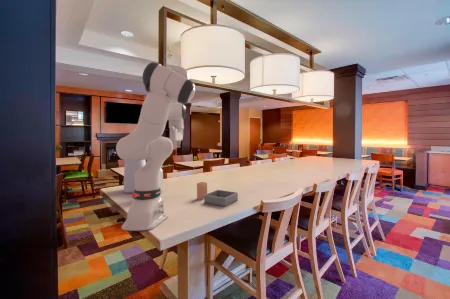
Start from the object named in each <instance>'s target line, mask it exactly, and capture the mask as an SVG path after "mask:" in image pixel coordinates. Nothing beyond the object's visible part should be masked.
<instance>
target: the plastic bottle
mask: <svg viewBox="0 0 450 299" xmlns="http://www.w3.org/2000/svg"><path fill="white" fill-rule="evenodd" d="M146 162H147V160H134V161H132V160H124V166H123V167H124V168H123V170H124V171H123V192H124V193H126V194H132V193H134V190H135V173H136V171H137V170H138V169H140V168H142V167H143V166H145V164H146Z"/></svg>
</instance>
